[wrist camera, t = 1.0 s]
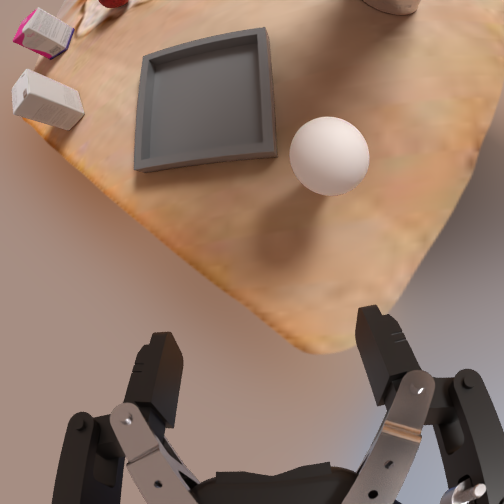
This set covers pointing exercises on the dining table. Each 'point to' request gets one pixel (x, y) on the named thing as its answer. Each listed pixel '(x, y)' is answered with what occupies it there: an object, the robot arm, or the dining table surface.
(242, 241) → the dining table surface
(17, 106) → the skincare box
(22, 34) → the supplement box
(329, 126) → the lightbulb
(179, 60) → the parts tray
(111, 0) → the onion
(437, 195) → the dining table surface
